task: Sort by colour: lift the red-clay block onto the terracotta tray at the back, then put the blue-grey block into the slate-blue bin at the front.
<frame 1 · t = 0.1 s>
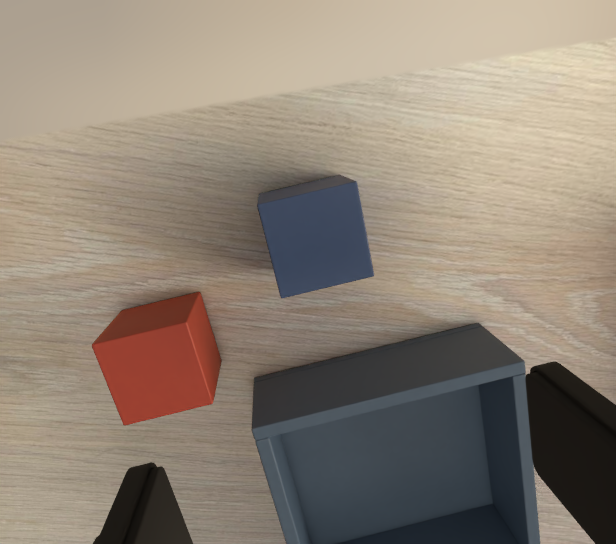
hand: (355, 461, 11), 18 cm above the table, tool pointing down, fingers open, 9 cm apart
blue block: (308, 224, 27), on the table
slate bin: (386, 445, 32), on the table
red block: (172, 336, 28), on the table
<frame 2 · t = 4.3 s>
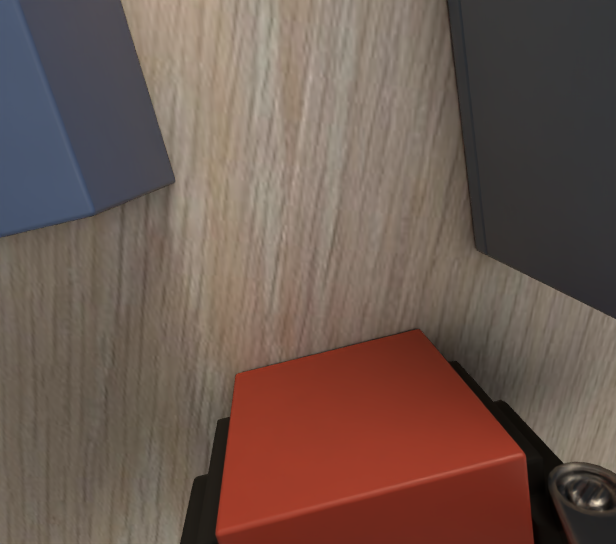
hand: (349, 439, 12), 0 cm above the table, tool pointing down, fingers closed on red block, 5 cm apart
blue block: (23, 91, 9), on the table
red block: (346, 429, 12), on the table, touching gripper
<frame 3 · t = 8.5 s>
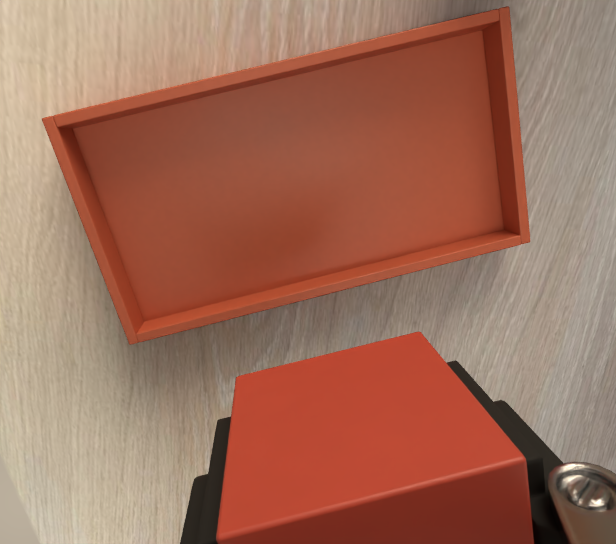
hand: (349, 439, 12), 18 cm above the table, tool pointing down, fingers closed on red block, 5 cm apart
terracotta tray: (303, 182, 27), on the table
red block: (346, 431, 12), point 17 cm above the table, touching gripper
when the fingers open (1 cm above the table, at t = 13.1 s): red block stays where it is, resting on terracotta tray.
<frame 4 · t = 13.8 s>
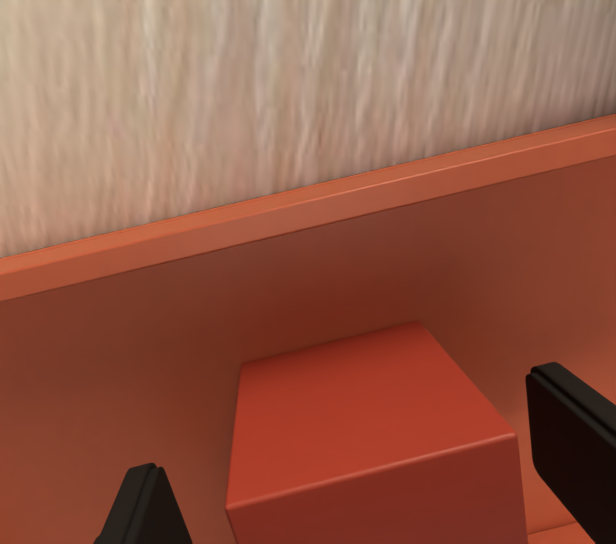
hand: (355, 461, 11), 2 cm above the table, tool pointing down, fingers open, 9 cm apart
terracotta tray: (342, 406, 13), on the table
red block: (347, 417, 13), point 1 cm above the table, touching terracotta tray
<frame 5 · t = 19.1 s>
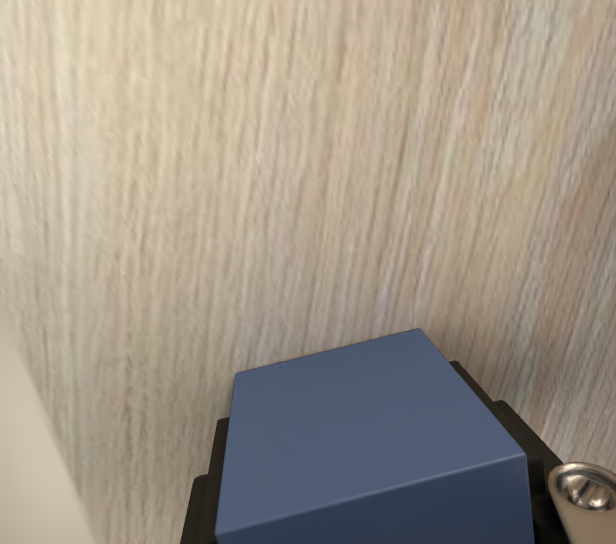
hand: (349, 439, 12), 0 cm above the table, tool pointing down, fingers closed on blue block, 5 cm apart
blue block: (346, 429, 12), on the table, touching gripper
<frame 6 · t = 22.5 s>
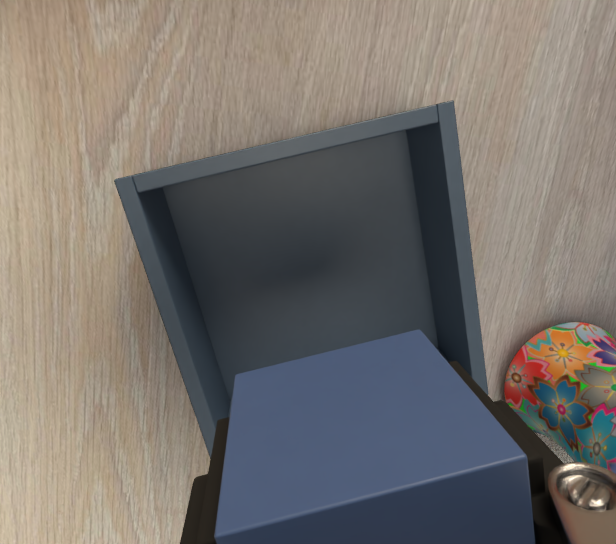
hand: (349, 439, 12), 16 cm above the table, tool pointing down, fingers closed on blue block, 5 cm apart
mug: (552, 388, 32), on the table
blue block: (346, 430, 12), point 16 cm above the table, touching gripper
slate bin: (310, 269, 27), on the table
when the fingers open (1 cm above the table, at t = 26.4 s): blue block stays where it is, resting on slate bin.
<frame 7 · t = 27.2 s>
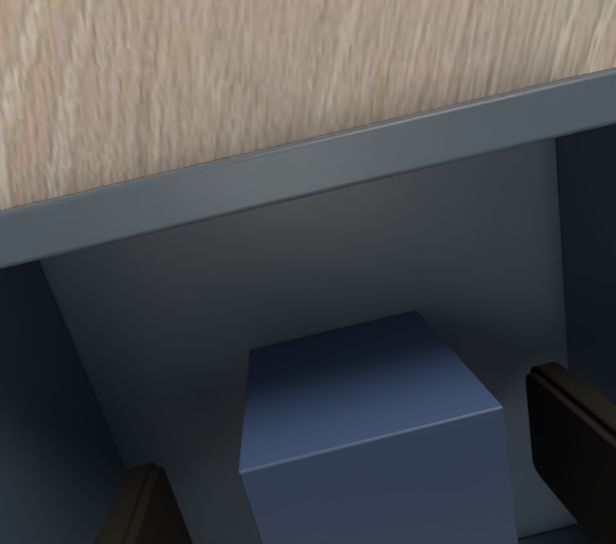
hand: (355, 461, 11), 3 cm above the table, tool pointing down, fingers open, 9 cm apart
blue block: (349, 402, 14), point 1 cm above the table, touching slate bin
slate bin: (343, 392, 14), on the table
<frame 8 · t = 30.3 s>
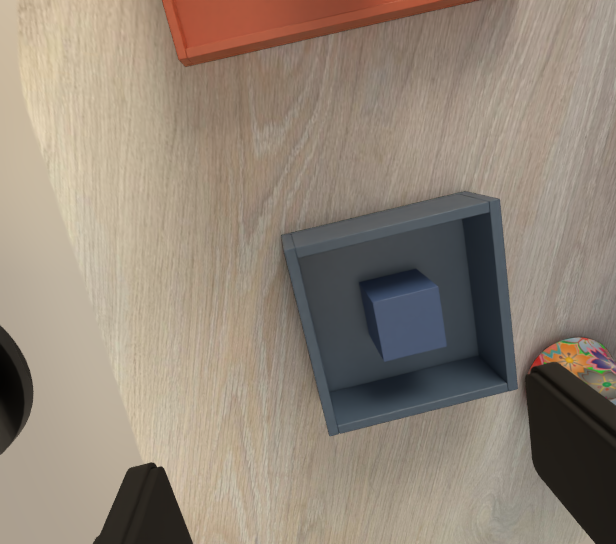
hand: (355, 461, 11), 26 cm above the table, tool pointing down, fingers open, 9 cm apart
mug: (561, 385, 43), on the table
blue block: (392, 302, 38), point 1 cm above the table, touching slate bin
slate bin: (389, 300, 38), on the table
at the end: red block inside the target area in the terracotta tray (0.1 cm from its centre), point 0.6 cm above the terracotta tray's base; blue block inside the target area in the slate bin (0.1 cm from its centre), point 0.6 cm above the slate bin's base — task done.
